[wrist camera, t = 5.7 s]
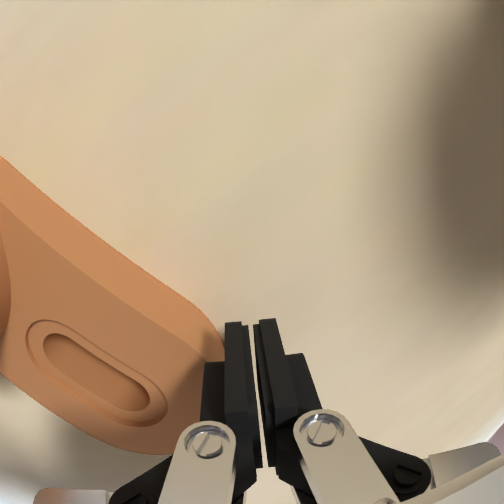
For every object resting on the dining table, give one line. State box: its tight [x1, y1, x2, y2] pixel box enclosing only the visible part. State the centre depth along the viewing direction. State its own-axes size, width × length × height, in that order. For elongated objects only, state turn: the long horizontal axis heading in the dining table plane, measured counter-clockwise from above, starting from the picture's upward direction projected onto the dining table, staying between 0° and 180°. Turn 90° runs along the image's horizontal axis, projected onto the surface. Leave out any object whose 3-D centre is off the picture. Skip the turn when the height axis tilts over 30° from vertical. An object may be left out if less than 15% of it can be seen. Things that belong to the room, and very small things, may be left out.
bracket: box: [0, 156, 225, 455], centre depth 8 cm, size 18×8×7 cm, turn 52°
